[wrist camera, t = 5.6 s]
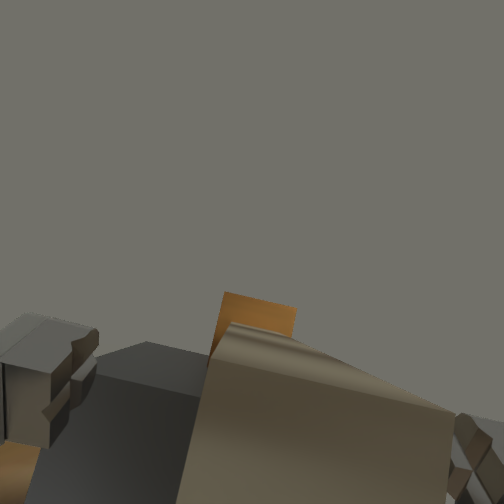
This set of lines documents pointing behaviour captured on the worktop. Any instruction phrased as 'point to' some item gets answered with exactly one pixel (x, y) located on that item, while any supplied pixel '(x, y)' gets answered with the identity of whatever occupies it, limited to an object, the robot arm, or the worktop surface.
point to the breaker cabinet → (126, 431)
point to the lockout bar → (306, 424)
